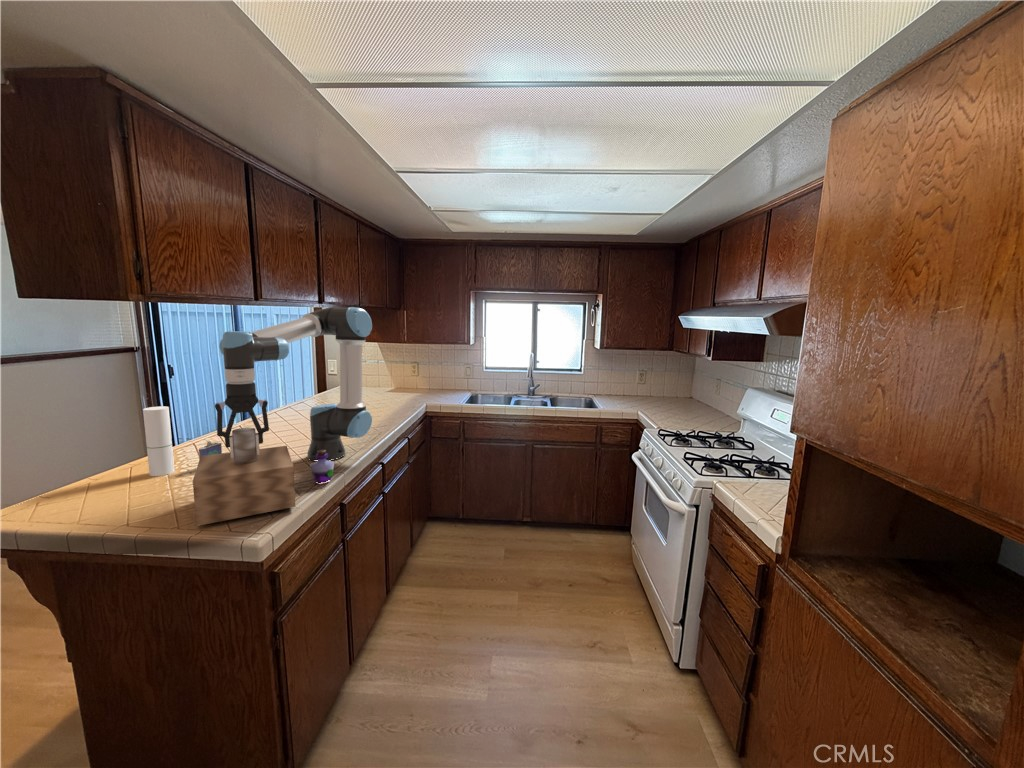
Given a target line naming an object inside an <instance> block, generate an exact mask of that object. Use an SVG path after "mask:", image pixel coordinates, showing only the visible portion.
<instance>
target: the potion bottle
mask: <svg viewBox="0 0 1024 768" xmlns="http://www.w3.org/2000/svg"><path fill="white" fill-rule="evenodd" d="M326 458H328V453H326V450H319V451H317V454H316V459H318V461H316V462H315V461H313V462H311V463H310V464H309V465H310V466H309V468H310V472H311V476H313V479H314V483H315V482H318V483H321V482H326V481H328V480H331V478H332V475H333V474H334V467H335V460H333V461H329V460H326ZM331 481H332V480H331Z"/></svg>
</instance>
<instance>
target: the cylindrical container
mask: <svg viewBox="0 0 1024 768" xmlns="http://www.w3.org/2000/svg"><path fill="white" fill-rule="evenodd" d="M142 413H143V414H142V415H143V421H144V422H143V424H144V425H143V426H144V432H145V433H144V435H145V444H146V453H147V454H146V455H147V463H148V464H147V465H148V472H149V473H148V474H149V477H154V476H155V477H162V475H164V476H168V475H171V474H173V473H175V470H176V469H175V462H174V461H175V460H174V451H173V440H172V438H173V437H172V429H171V428H172V427H171V418H170V417H171V416H170V406H166V405H165V406H163V405H161V406H160V405H159V406H149V407H145V408H142ZM167 474H168V475H167Z"/></svg>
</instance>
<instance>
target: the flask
mask: <svg viewBox="0 0 1024 768" xmlns="http://www.w3.org/2000/svg"><path fill="white" fill-rule="evenodd" d="M222 449H223V448H222V442H212V441H210V440H207V441H206V445H204V446H202V447H200V448H198V456H199V460H200V457H201V456H206V455H214V454H222V452H223V451H222Z"/></svg>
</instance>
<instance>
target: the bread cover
mask: <svg viewBox="0 0 1024 768" xmlns="http://www.w3.org/2000/svg"><path fill="white" fill-rule="evenodd" d="M231 433H232V434H231V435H232V437H233V451H234V458H231V452H225V453H222V454H214V455H206V456H201V457H200V459H199V461H198V464H197V467H196V468H195V473H194V475H193V480H192V489H193V499H194V503H193V504H194V512H195V513H194V514H195V523H196V527H199V526H204V525H207V524H208V525H209V524H213V523H218V522H223V521H230V520H235V519H239V518H244V517H249V516H254V515H260V514H264V513H265V514H266V513H268V512H269V513H270V512H274V511H275V512H276V511H279V510H285V509H289V508H290V509H291V508H295V507H296V493H295V490H296V489H295V474H294V473H295V471H294V469H295V468H294V464H293V461H292V458H291V455H290V451H289V449H288V445H281V446H274V447H265V448H259V453H260V455H257V450H256V433H257V431H256V427H240V428H236V429H233V430H231Z"/></svg>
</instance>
